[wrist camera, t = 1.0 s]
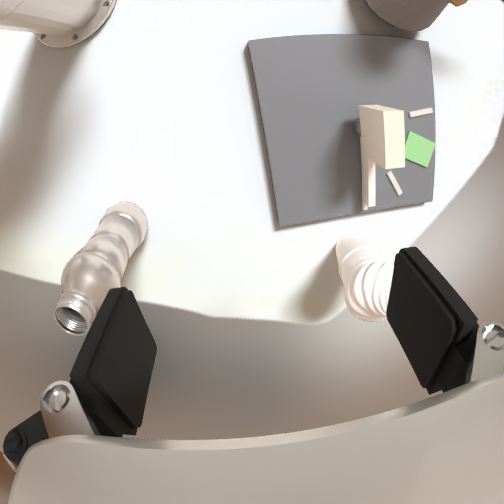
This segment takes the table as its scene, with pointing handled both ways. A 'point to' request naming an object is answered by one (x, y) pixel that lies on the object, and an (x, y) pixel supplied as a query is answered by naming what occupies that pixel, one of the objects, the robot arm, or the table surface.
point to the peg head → (379, 144)
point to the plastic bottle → (99, 267)
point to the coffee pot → (410, 12)
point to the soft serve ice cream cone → (364, 277)
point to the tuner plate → (341, 120)
